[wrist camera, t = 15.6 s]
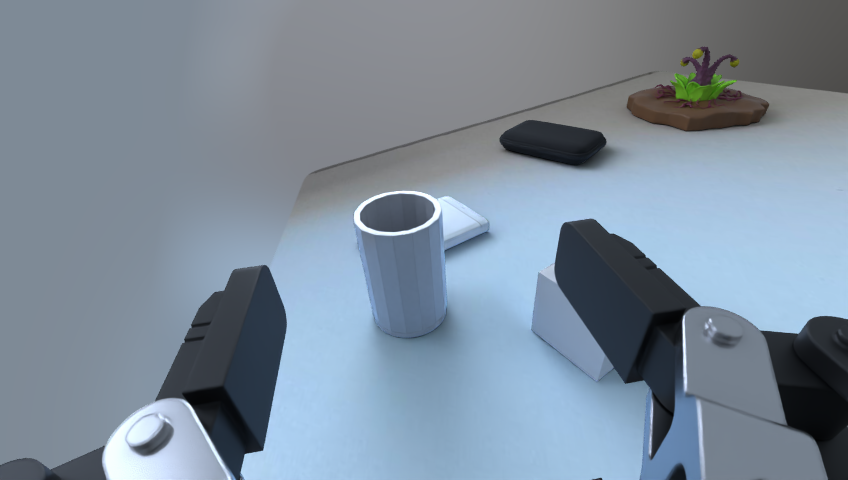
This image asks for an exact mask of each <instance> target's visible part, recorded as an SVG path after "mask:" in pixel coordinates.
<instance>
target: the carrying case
mask: <svg viewBox="0 0 848 480" xmlns="http://www.w3.org/2000/svg"><path fill="white" fill-rule="evenodd" d="M500 143H501V144H502V145H503V147H504V148H506V149H508V150H511V151H516V152H520V153H524V154H528V155H532V156H536V157H541V158H545V159H550V160H554V161H559V162H563V163H568V164H581V163H583V162H584V161H586V160H587V159H589V158H590V157H591V156H592V155H594V154H595V153H596V152H598V151H599V150H600V149H602V148H603V147H604V146H605V145H606V139H605V137H604V136H603V134H602V133H601V132H598V131H594V130H589V129H583V128H577V127H572V126H566V125H560V124H554V123H548V122H541V121H535V120H528V121H525V122H523V123H521V124H519V125H517V126H515V127H513V128H511V129H509V130H507V131H505V132H504V134H503V135H501V137H500Z"/></svg>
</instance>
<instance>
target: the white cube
mask: <svg viewBox="0 0 848 480" xmlns="http://www.w3.org/2000/svg"><path fill="white" fill-rule="evenodd" d="M554 266H555V263H553V264H551V265H550V266H548V267H546V268H544V269H543V270H541V271H539V272H538V279H537V287H536V295H535V303H534V311H533V319H532V327H531V330H532V331H534V332H535V333H536V334H537V335H539V336H540V337H541V338H542V339H544V340H545V341H546V342H547V343H549V344H550V345H551V346H552V347H554V348H555V349H556V350H557V351H559V352H560V353H561V354H562V355H564V356H565V357H566V358H567V359H569V360H570V361H571V362H572V363H574V364H575V365H576V366H577V367H579V368H580V369H581V370H582V371H584V372H585V373H586V374H587V375H589V376H590V377H591V378H592V379H594V380H595V381H596V382H598V381H599V380H600V379H601V378H602V377H604V376H605V375H606V374H607V373H608V372H610V371H611V370H612V369H613V368H614V367H613V365H612V364H611V362H610V361H609V359H608V358H607V356H606V355H605V354H604V352H603V351H602V349H601V348H600V346H599V345H598V343H597V342H596V340H595V339H594V337H593V336H592V335H591V333H590V332H589V330H588V329H587V327H586V326H585V324H584V323H583V321H582V320H581V319H580V317H579V316H578V314H577V313H576V311H575V310H574V308H573V307H572V305H571V304H570V302H569V301H568V300H567V298H566V297H565V295H564V294H563V292H562V291H561V289H560V288H559V286H558V284H557V281H556V278H555V273H554Z"/></svg>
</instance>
